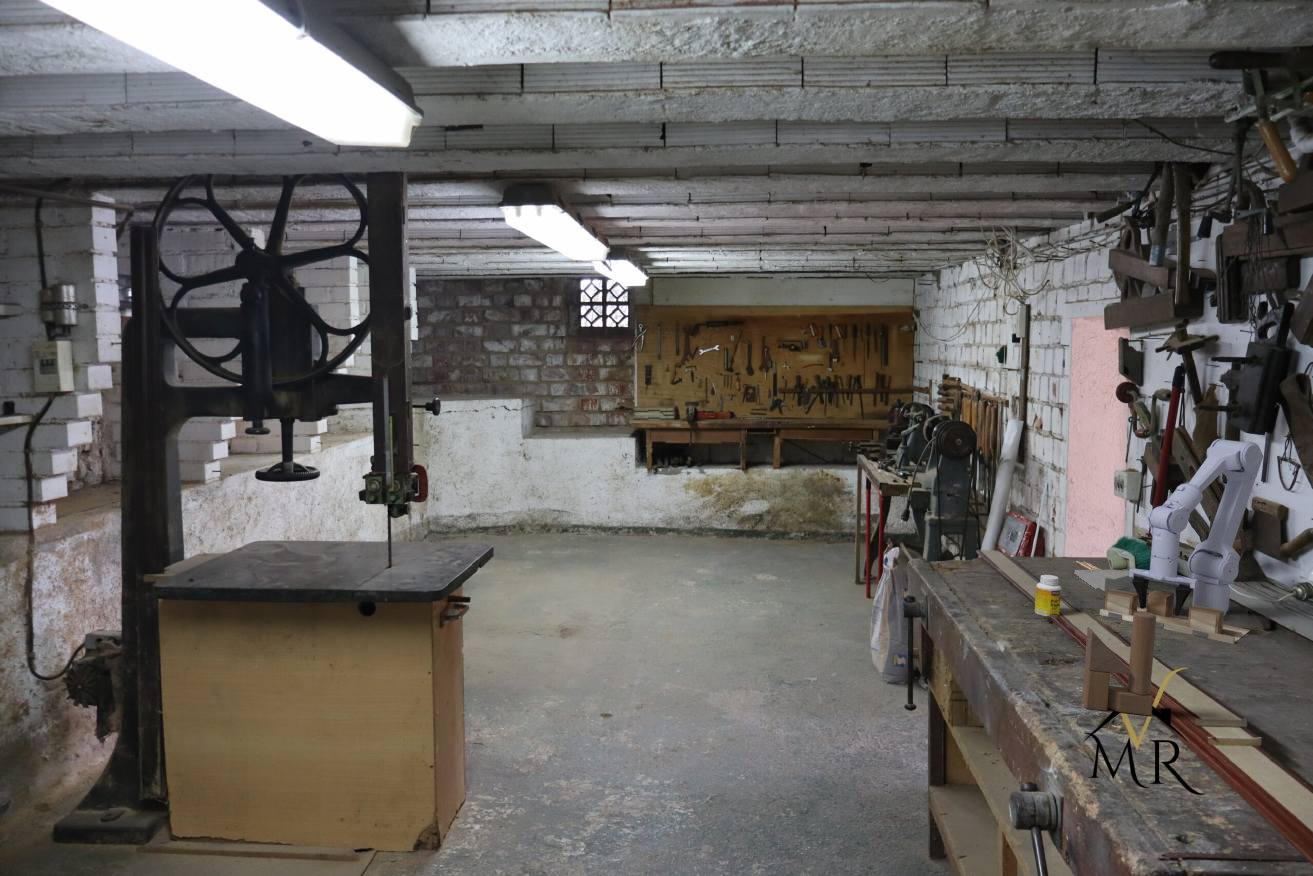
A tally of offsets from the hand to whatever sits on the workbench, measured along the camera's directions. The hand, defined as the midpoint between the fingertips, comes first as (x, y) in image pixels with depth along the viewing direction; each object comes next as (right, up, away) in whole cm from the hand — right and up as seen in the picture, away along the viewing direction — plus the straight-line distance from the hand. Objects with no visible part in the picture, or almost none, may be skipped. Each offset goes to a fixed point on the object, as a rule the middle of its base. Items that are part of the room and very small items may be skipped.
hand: (1159, 611), depth 217 cm
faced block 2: (+3, -2, -13) cm, 14 cm away
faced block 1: (-10, -1, 0) cm, 10 cm away
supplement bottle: (-28, -2, 0) cm, 28 cm away
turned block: (0, -1, 0) cm, 1 cm away
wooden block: (-40, -7, -56) cm, 69 cm away
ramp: (+4, 0, +34) cm, 35 cm away
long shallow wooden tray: (0, -3, -5) cm, 6 cm away
